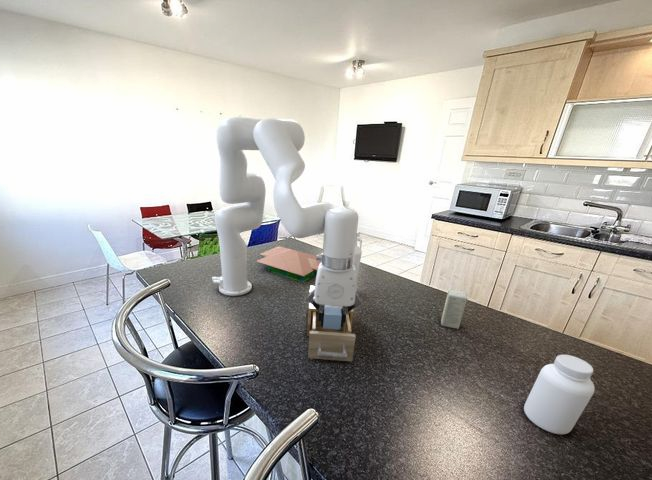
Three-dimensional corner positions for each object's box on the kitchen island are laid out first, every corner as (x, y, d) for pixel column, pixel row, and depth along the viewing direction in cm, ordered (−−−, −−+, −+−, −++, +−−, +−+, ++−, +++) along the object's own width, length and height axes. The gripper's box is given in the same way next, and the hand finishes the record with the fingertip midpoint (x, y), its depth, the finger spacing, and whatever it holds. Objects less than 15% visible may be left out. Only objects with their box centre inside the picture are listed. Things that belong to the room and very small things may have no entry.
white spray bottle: (364, 294, 112) (373, 230, 101) (344, 304, 104) (352, 236, 94) (350, 287, 116) (357, 226, 106) (330, 297, 109) (336, 232, 99)
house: (309, 285, 118) (310, 266, 114) (248, 265, 135) (247, 248, 132) (335, 267, 135) (337, 251, 131) (278, 252, 152) (278, 237, 149)
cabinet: (350, 339, 86) (353, 311, 82) (306, 336, 87) (308, 308, 83) (345, 313, 99) (348, 287, 95) (308, 310, 100) (309, 285, 96)
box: (458, 322, 95) (467, 292, 91) (458, 329, 92) (468, 298, 87) (440, 318, 97) (448, 288, 92) (440, 325, 94) (448, 294, 89)
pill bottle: (513, 404, 65) (538, 350, 59) (546, 402, 66) (574, 349, 60) (544, 437, 58) (577, 379, 52) (581, 434, 59) (618, 377, 53)
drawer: (354, 374, 72) (358, 348, 68) (307, 370, 72) (309, 345, 69) (347, 331, 88) (350, 308, 85) (309, 328, 89) (310, 306, 86)
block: (323, 328, 77) (324, 314, 75) (323, 319, 81) (324, 305, 79) (340, 329, 77) (341, 315, 75) (339, 320, 81) (340, 306, 79)
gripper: (302, 264, 69) (299, 329, 76) (375, 268, 67) (365, 334, 75) (303, 253, 75) (300, 314, 83) (370, 257, 74) (361, 318, 82)
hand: (331, 323), depth 79 cm, fingers closed on block, 4 cm apart
